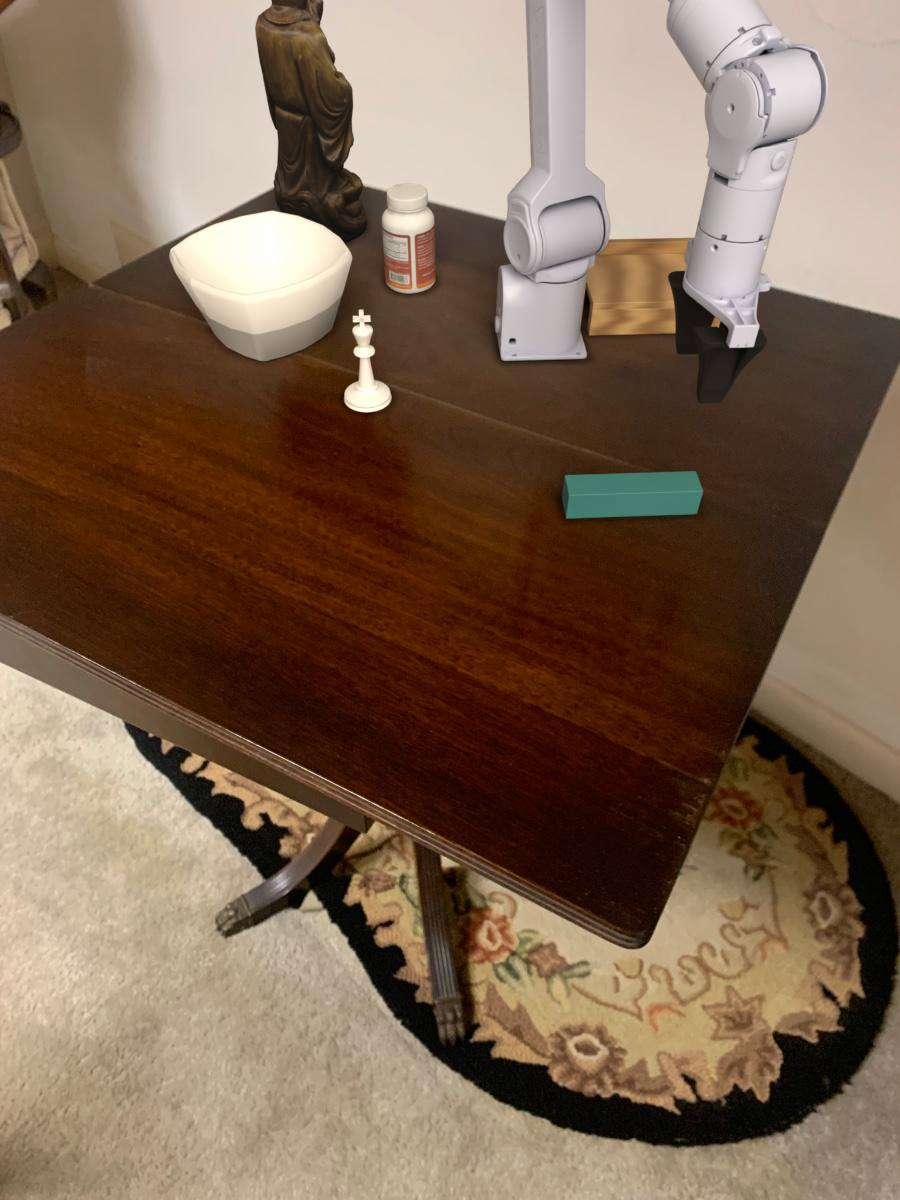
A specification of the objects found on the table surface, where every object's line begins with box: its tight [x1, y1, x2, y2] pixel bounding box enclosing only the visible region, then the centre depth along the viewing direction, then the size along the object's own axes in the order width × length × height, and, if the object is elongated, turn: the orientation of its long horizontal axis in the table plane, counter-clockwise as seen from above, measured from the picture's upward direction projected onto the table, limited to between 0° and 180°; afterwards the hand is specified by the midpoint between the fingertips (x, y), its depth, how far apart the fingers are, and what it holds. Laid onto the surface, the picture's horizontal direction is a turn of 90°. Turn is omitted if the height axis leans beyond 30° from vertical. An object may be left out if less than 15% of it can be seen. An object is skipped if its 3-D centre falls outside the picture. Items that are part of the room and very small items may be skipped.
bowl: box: [168, 210, 353, 362], centre depth 98 cm, size 18×18×9 cm
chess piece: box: [343, 309, 392, 413], centre depth 88 cm, size 5×5×10 cm
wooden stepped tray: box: [585, 237, 721, 336], centre depth 103 cm, size 16×12×6 cm
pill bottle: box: [381, 182, 437, 295], centre depth 104 cm, size 6×6×11 cm
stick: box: [561, 470, 704, 520], centre depth 80 cm, size 12×3×3 cm, turn 93°
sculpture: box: [254, 0, 368, 243], centre depth 108 cm, size 12×13×30 cm
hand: (698, 375), depth 80 cm, fingers open, 7 cm apart
